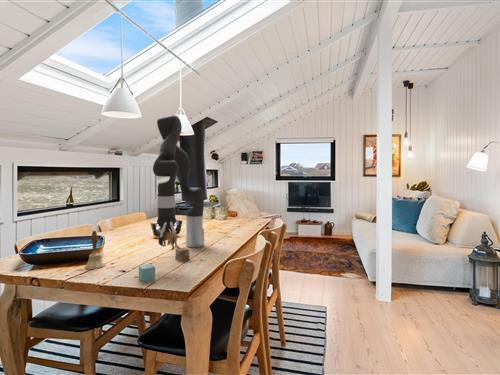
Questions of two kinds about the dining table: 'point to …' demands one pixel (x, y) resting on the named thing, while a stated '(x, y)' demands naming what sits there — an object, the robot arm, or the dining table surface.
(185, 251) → the walnut block
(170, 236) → the lion figurine
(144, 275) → the teal block
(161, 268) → the dining table surface
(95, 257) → the hand bell
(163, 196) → the robot arm
